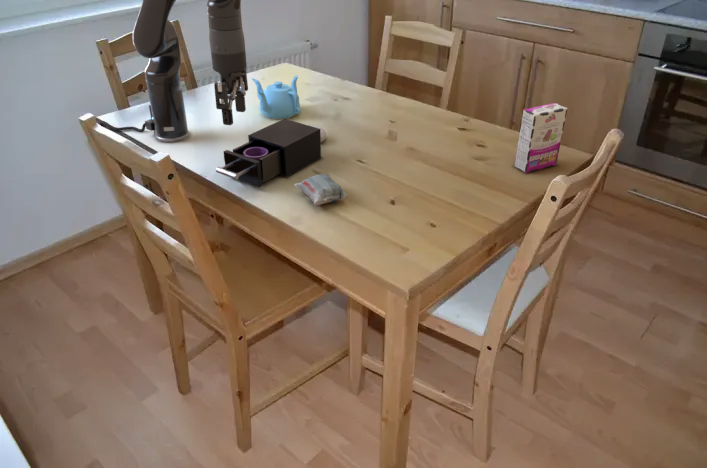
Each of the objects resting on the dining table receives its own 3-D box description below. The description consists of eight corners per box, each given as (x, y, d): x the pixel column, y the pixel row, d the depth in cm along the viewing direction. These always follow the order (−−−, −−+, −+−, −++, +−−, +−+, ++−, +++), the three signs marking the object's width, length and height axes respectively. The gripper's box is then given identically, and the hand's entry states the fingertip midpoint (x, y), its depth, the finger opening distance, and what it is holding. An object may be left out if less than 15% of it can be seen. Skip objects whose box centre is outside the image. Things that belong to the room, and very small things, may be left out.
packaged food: (314, 213, 136) (314, 194, 134) (294, 191, 145) (293, 173, 142) (347, 204, 140) (348, 186, 137) (325, 184, 149) (325, 166, 146)
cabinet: (286, 177, 151) (284, 146, 147) (250, 164, 157) (248, 135, 153) (321, 158, 161) (320, 128, 157) (286, 146, 167) (284, 118, 163)
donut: (288, 145, 168) (321, 148, 167) (287, 134, 167) (321, 137, 165) (297, 132, 177) (329, 134, 175) (297, 121, 175) (329, 123, 173)
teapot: (305, 120, 184) (304, 88, 179) (257, 123, 182) (254, 91, 176) (299, 104, 197) (298, 74, 191) (254, 107, 194) (251, 76, 188)
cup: (240, 170, 150) (238, 152, 147) (256, 162, 154) (255, 144, 151) (257, 177, 147) (256, 159, 144) (274, 168, 151) (273, 150, 148)
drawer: (244, 196, 141) (241, 171, 137) (210, 183, 146) (207, 158, 142) (294, 168, 154) (293, 144, 150) (261, 157, 159) (260, 134, 156)
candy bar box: (543, 158, 163) (555, 101, 154) (556, 165, 159) (569, 108, 151) (512, 166, 159) (522, 108, 150) (525, 173, 155) (536, 114, 146)
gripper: (232, 58, 122) (239, 130, 131) (254, 40, 134) (259, 108, 143) (198, 55, 123) (208, 127, 132) (223, 38, 135) (230, 106, 144)
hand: (234, 117), depth 137 cm, fingers open, 8 cm apart
